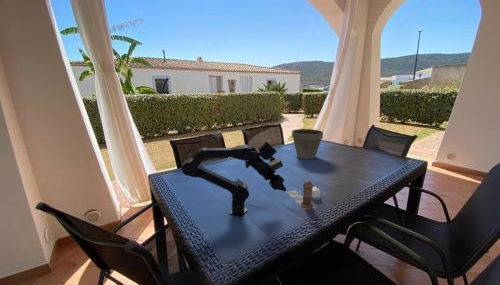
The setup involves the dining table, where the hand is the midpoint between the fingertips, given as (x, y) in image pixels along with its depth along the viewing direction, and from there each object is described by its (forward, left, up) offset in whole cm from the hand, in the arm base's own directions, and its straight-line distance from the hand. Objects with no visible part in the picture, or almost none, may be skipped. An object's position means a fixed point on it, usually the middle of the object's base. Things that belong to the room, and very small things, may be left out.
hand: (281, 186), depth 106 cm
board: (+10, -7, -11) cm, 16 cm away
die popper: (+16, -13, -11) cm, 23 cm away
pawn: (+5, -11, -10) cm, 16 cm away
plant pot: (+85, +6, -11) cm, 86 cm away
